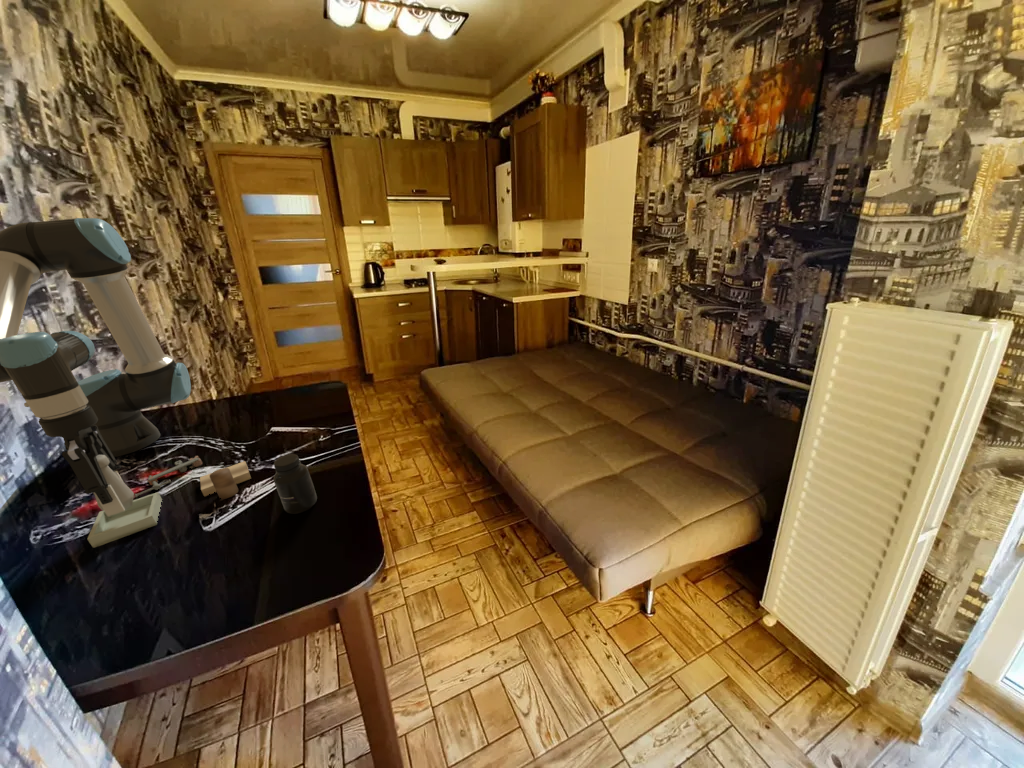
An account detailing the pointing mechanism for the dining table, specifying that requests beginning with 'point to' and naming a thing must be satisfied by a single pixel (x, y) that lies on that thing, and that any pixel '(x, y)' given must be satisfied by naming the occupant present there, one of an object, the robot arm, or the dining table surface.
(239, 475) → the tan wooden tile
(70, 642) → the dining table surface
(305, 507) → the supplement bottle
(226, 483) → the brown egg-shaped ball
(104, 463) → the salt shaker
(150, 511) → the tray
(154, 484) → the clamp
